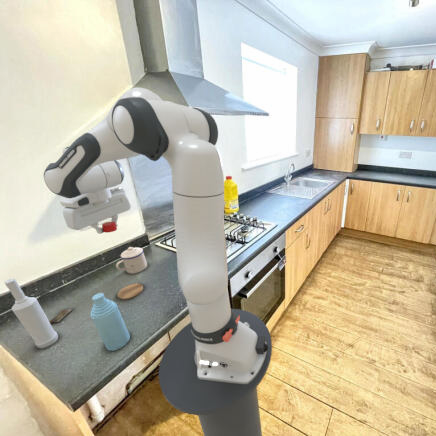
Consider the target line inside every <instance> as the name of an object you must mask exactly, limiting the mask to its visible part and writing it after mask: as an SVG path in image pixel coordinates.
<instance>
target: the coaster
mask: <svg viewBox="0 0 436 436" xmlns="http://www.w3.org/2000/svg"><path fill="white" fill-rule="evenodd" d="M143 290H144V286H143V284H141V283H139V282H137V283H131V284H128V285H125V286H124V287H122V288H121V289H120V290H119V291H118V292H117V298H118V299H119V300H129V299H132V298H135V297H137V296H138V295H140V294H141V293H142V292H143Z"/></svg>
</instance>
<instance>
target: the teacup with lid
mask: <svg viewBox="0 0 436 436" xmlns="http://www.w3.org/2000/svg"><path fill="white" fill-rule="evenodd" d="M120 259H121V260H119V261H117V262H116V264H115V267H116V269H117V270H118V271H126V273H128V274H138V273H140V272H142V271H145V270H146V269H147V267H148V262H147V259H146V257H145V253H144V249H143V248H141V247H137V246H136V247H133V246H129V247H127V249H125V250H124V251H122V253H121V254H120ZM120 264H123V265H124V267H122V268H120V267H119V266H120Z"/></svg>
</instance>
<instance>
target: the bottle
mask: <svg viewBox="0 0 436 436" xmlns="http://www.w3.org/2000/svg"><path fill="white" fill-rule="evenodd" d="M4 284H5V286H6V288H7V289H8V290H9V292H10V293H11V295H12V296H13V298H14V304H13V305H12V307H11V311H12V312H13V313H14V315H15V316H16V318H17V319H18V320H19V321H20V323H21V324H22V326H23V327H24V329H25V330H26V332H27V333H28V334H29V335H30V337H31V339H32V340H33V342H34V344H35V346H36V348H38V349H45V348H48V347H50V346H52V345H53V344H55V343H56V342H57V341H58V339H59V335H58V333H57V331H55V330H54V328H53V325H52V324H50V322H49V321H50V320H49V319H48V317H47V315H46V313H45V312H44V309H43V308H42V306H41V304H40V302H39V300H38V299H37V297H32V296H31V297H29V296H27V295H26V294H25V293H24V291H23V289H22V288H21V287H20V285H19V283H18V281H17V280H16V278H10V279H7V280H5V281H4Z"/></svg>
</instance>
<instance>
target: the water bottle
mask: <svg viewBox="0 0 436 436" xmlns="http://www.w3.org/2000/svg"><path fill="white" fill-rule="evenodd" d="M91 300H92V301H93V305H92V307H91V311H90V317H91V319H92V322H93V324H94V326H95V327H96V331H97V332H98V334H99V336H100V338H101V339H102V342H103V344H104V346H105V348H106V349H107V350H108V351H113V352H115V351H117V350H120V349H122V348H123V347H124V346H126V345H127V344H128V342H129V341H130V339H131V335H130V333H129V330H128V328H127V326H126V323H125V321H124V319H123V316H122V313H121V311H120V309H119V306H118V304H117V303H116V302H115V301H113V300H111V299H109V298H106V297H105V294H104V292H99V293H96V294H94V295H93V296H92V298H91Z"/></svg>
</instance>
